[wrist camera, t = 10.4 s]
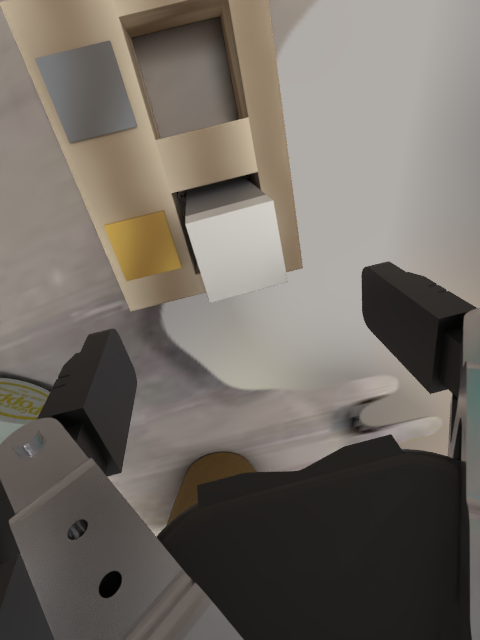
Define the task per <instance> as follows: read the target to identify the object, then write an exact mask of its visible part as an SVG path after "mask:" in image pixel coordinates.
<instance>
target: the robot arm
mask: <svg viewBox="0 0 480 640" xmlns="http://www.w3.org/2000/svg"><path fill="white" fill-rule="evenodd" d="M362 312H363V317H364V321H365V323H366V325H367V327H368V328H369V329H370V330H371V332H373V334H374V335H375V336H376V337H377V338H378V339H379V340H380V341H381V342H382V343H383V344H384V345H385V346H386V347H387V348H388V349H389V350H390V352H391V353H392V354H393V355H394V356H395V357H396V358H397V359H398V360H399V361H400V362H401V363H402V364H403V365H404V366H405V367H406V369H407V370H408V371H409V372H410V373H411V374H412V375H413V376H414V377H415V378H416V379H417V380H418V381H419V382H420V383H421V384H422V385H423V387H424V388H425V389H426V390H427V391H428V392H429V393H430V394H431V393H435V392H439V391H443V390H447V389H449V390H450V391H451V392H452V397H451V404H450V424H449V444H448V456H444V455H440V454H437V453H433V452H427V451H421V450H409V449H401V448H400V447H399V445H398V444H397V442H396V441H395V439H394V438H393V436H392V435H387V436H383V437H379V438H375V439H372V440H368V441H364V442H360V443H356V444H352V445H349V446H345V447H343V448H341V449H339V450H337V451H335V452H334V453H332V454H330V455H328V456H326V457H324V458H323V459H321V460H319V461H317V462H315V463H313V464H312V465H310V466H308V467H306V468H304V469H302V470H299V471H292V472H248V473H242V474H238V475H234V476H230V477H227V478H223V479H219V480H215V481H211V482H208V483H204V484H200V485H197V492H198V503H196V504H194V505H192V506H191V507H189V508H188V509H186V510H185V511H183V512H182V513H180V514H179V515H178V516H177V517H176V518H175V519H173V520H172V521H171V522H170V523H169V524H168V525H167V526H166V527H165V528H164V529H163V530H162V531H161V532H160V533H159V535H158V536H157V537H156V536H155V535H154V534H153V532H152V531H151V530H150V529H149V527H148V526H147V525H146V524H145V523H144V521H143V520H142V519H141V518H140V516H139V515H138V514H137V513H136V512H135V510H134V509H133V508H132V507H131V505H130V504H129V503H128V502H127V501H126V499H125V498H124V497H123V496H122V494H121V493H120V492H119V491H118V490H117V488H116V487H115V486H114V485H113V483H112V482H111V481H110V480H109V479H108V477H107V476H111V475H114V474H118V473H121V471H122V466H123V460H124V454H125V449H126V443H127V438H128V432H129V426H130V421H131V415H132V410H133V404H134V398H135V393H136V387H137V379H136V374H135V370H134V367H133V365H132V363H131V361H130V358H129V356H128V354H127V352H126V349H125V347H124V345H123V343H122V341H121V338H120V336H119V334H118V332H117V331H116V330H115V329H109V330H105V331H101V332H97V333H93V334H89V335H88V337H87V339H86V341H85V343H84V345H83V348H82V350H81V352H80V353H76V354H75V355H74V356H73V357H72V358H71V359H70V360H69V361H68V362H67V363H66V364H65V365H64V366H63V368H62V370H61V372H60V374H59V376H58V379H57V380H56V382H55V384H54V386H53V389H52V390H51V392H50V394H49V396H48V398H47V400H46V402H45V404H44V406H43V408H42V410H41V412H40V414H39V416H38V418H37V420H34V421H32V422H29V423H27V424H25V425H23V426H22V427H20V428H18V429H17V430H16V431H14V432H13V433H12V434H10V435H9V436H8V437H7V438H6V439H5V440H4V441H3V442H2V443H1V444H0V608H1V605H2V602H3V599H4V596H5V593H6V590H7V587H8V584H9V581H10V578H11V575H12V572H13V569H14V566H15V563H16V560H17V557H18V554H20V553H21V555H22V558H23V561H24V563H25V566H26V568H27V570H28V573H29V575H30V578H31V581H32V583H33V586H34V588H35V591H36V593H37V596H38V598H39V601H40V604H41V606H42V608H43V611H44V614H45V616H46V619H47V621H48V624H49V626H50V629H51V631H52V633H53V636H54V639H55V640H480V308H476V307H474V306H473V305H471V304H469V303H468V302H466V301H464V300H463V299H461V298H459V297H458V296H456V295H454V294H453V293H451V292H449V291H446V289H444V288H442V287H441V286H439V285H436V283H434V282H433V281H431V280H429V279H427V278H426V277H424V276H421V275H417V274H413V273H410V272H405V271H403V270H402V269H400V268H399V267H397V266H396V265H394V264H392V263H391V262H385V263H381V264H376V265H372V266H368V267H365V268H364V269H363V271H362Z"/></svg>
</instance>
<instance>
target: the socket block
mask: <svg viewBox="0 0 480 640" xmlns="http://www.w3.org/2000/svg"><path fill="white" fill-rule="evenodd" d="M0 6H1V8H2V10H3V13H4V15H5V17H6V20H7V22H8V25H9V27H10V29H11V32H12V34H13V36H14V39H15V41H16V43H17V46H18V48H19V50H20V53H21V55H22V57H23V60H24V62H25V64H26V67H27V69H28V72H29V74H30V76H31V79H32V81H33V83H34V86H35V88H36V90H37V93H38V95H39V97H40V100H41V102H42V104H43V107H44V109H45V111H46V114H47V116H48V119H49V121H50V123H51V126H52V128H53V130H54V133H55V135H56V137H57V140H58V142H59V144H60V147H61V149H62V151H63V154H64V156H65V158H66V161H67V163H68V166H69V168H70V170H71V173H72V175H73V177H74V180H75V182H76V184H77V187H78V189H79V191H80V194H81V196H82V198H83V201H84V203H85V205H86V208H87V210H88V213H89V215H90V217H91V220H92V222H93V224H94V227H95V229H96V231H97V234H98V236H99V238H100V241H101V243H102V245H103V248H104V250H105V252H106V255H107V257H108V259H109V262H110V264H111V267H112V269H113V271H114V274H115V276H116V278H117V281H118V283H119V285H120V288H121V290H122V292H123V295H124V297H125V299H126V302H127V304H128V306H129V309H130V311H134V310H138V309H142V308H146V307H150V306H154V305H158V304H162V303H166V302H170V301H174V300H178V299H182V298H185V297H190V296H194V295H197V294H202V293H206V289H205V286H204V283H203V279H202V276H201V273H200V270H199V267H198V263H197V260H196V257H195V256H194V252H193V249H192V245H191V242H190V238H189V235H188V231H187V228H186V225H185V221H184V218H183V214H182V211H181V207H180V204H179V201H178V197H177V194H176V192H179V191H183V190H187V189H191V188H195V187H199V186H203V185H207V184H211V183H215V182H219V181H223V180H227V179H231V178H235V177H239V176H243V175H247V174H249V176H250V182H251V183H252V184H253V185H255V186H256V187H257V188H258V189H260V190H261V191H262V192H263V193H265V194H266V195H267V196H268V197H270V198H271V199H272V200H273V201H274V207H275V213H276V218H277V224H278V230H279V235H280V241H281V247H282V252H283V258H284V264H285V269H286V272H289V271H293V270H297V269H301V268H303V266H302V259H301V250H300V244H299V235H298V227H297V219H296V212H295V203H294V196H293V188H292V180H291V172H290V165H289V157H288V148H287V141H286V133H285V125H284V117H283V109H282V102H281V93H280V86H279V78H278V70H277V62H276V54H275V46H274V39H273V31H272V23H271V15H270V7H269V0H7V1H3V2H0ZM219 16H220V19H221V24H222V30H223V35H224V41H225V46H226V51H227V57H228V62H229V68H230V73H231V79H232V84H233V89H234V95H235V100H236V106H237V111H238V117H239V120H235V121H231V122H227V123H223V124H219V125H215V126H211V127H207V128H203V129H199V130H194V131H190V132H186V133H182V134H178V135H174V136H170V137H166V138H162V139H160V135H159V132H158V128H157V125H156V122H155V118H154V115H153V111H152V108H151V104H150V101H149V97H148V94H147V91H146V87H145V84H144V80H143V77H142V73H141V70H140V67H139V63H138V60H137V56H136V53H135V49H134V46H133V43H132V39H131V38H132V37H136V36H140V35H144V34H148V33H152V32H156V31H161V30H165V29H169V28H173V27H177V26H181V25H185V24H190V23H194V22H198V21H202V20H206V19H210V18H214V17H219Z"/></svg>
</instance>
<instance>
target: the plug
mask: <svg viewBox="0 0 480 640" xmlns="http://www.w3.org/2000/svg"><path fill="white" fill-rule="evenodd" d="M185 225H186V228H187V231H188V234H189V238H190V241H191V244H192V247H193V251H194V254H195V257H196V260H197V263H198V267H199V270H200V273H201V276H202V279H203V283H204V286H205V289H206V292H207V295H208V298H209V302H210V303H212V302H216V301H219V300H223V299H227V298H230V297H234V296H238V295H242V294H245V293H249V292H253V291H256V290H260V289H264V288H267V287H271V286H275V285H278V284H282V283H286V282H288V281H287V275H286V269H285V264H284V258H283V252H282V247H281V241H280V235H279V230H278V224H277V218H276V213H275V207H274V201H273V200H272V199H271V198H270V197H268V196H267V195H266V194H265V193H263V192H262V191H261V190H260V189H258V188H257V187H256V186H255V185H253V184H252V183H251V182H250V181H248V180H247V179H246V178H244V177H243V176H239V177H235V178H232V179H228V180H224V181H220V182H217V183H213V184H209V185H206V186H202V187H198V188H194V189H191V190H187V191H186V217H185Z"/></svg>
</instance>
